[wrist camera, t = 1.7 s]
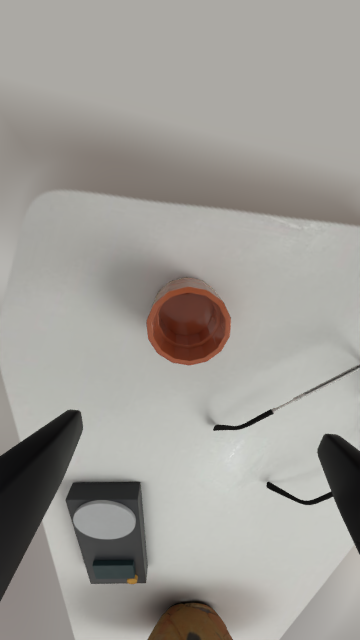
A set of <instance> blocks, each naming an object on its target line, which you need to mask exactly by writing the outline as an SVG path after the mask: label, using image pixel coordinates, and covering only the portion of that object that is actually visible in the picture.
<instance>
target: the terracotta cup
mask: <svg viewBox="0 0 360 640" xmlns="http://www.w3.org/2000/svg"><path fill="white" fill-rule="evenodd" d="M230 327H231V317H230V315H229V313H228V311H227V309H226V307H225V304H224V302H223V301H222V300H221V298H220V297H219V296H218V294H217V293H216V292H215V291H214V289H213V288H211V287H210V286H209V285H207V284H206V283H205V282H203V281H202V280H198V279H193V278H188V277H184V278H181V279H177V280H173V281H171V282H169V283H168V284H166V285H165V286H164V287H163V288H162V289H161V290H160V291H159V292H158V294H157V296H156V299H155V301H154V303H153V306H152V309H151V311H150V314H149V316H148V319H147V332H148V339H149V341H150V342H151V344H152V346H153V347H154V349H155V350H156V352H157V353H158V354H159V355H161V356H163V357H164V358H166V359H167V360H169V361H171V362H173V363H178V364H184V365H193V364H198V363H202V362H206V361H208V360H209V359H211V358H212V357H214V356H215V355H216V354H218V353H219V352H221V351H222V349H223V347H224V345H225V344H226V342H227V340H228V338H229V337H230Z"/></svg>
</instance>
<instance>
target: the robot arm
mask: <svg viewBox="0 0 360 640" xmlns="http://www.w3.org/2000/svg"><path fill="white" fill-rule="evenodd" d="M82 430H83V423H82V416H81V412H80V411H79V410H67V411H66V412H64V413H63V414H61V415H60V416H58V417H57V418H56V419H54V420H53V421H51V422H50V423H48V424H47V425H45V426H44V427H42V428H41V429H39V430H38V431H36V432H35V433H33V434H32V435H31V436H29V437H28V438H26V439H25V440H23V441H22V442H20V443H19V444H17V445H16V446H14V447H13V448H12V449H10V450H9V451H7V452H6V453H4V454H3V455H1V456H0V601H1V599H2V597H3V595H4V593H5V591H6V589H7V587H8V585H9V583H10V581H11V579H12V577H13V576H14V574H15V572H16V570H17V568H18V566H19V564H20V562H21V560H22V558H23V556H24V554H25V552H26V550H27V548H28V546H29V544H30V543H31V540H32V539H33V537H34V535H35V532H36V531H37V529H38V527H39V525H40V523H41V521H42V519H43V517H44V515H45V513H46V511H47V509H48V507H49V506H50V504H51V502H52V500H53V498H54V496H55V494H56V492H57V490H58V488H59V486H60V484H61V482H62V480H63V478H64V475H65V473H66V471H67V468H68V466H69V463H70V461H71V458H72V456H73V454H74V451H75V449H76V446H77V444H78V441H79V439H80V436H81V434H82ZM318 457H319V460H320V462H321V465H322V468H323V470H324V473H325V476H326V478H327V481H328V484H329V486H330V489H331V491H332V494H333V497H334V499H335V502H336V504H337V507H338V509H339V511H340V514H341V516H342V518H343V520H344V522H345V524H346V526H347V529H348V531H349V533H350V535H351V537H352V539H353V541H354V544H355V546H356V548H357V550H358V552H359V554H360V451H359V450H358V449H356V448H355V447H354V446H352V445H351V444H350V443H348V442H347V441H346V440H344V439H343V438H342V437H340V436H339V435H335V434H325V435H324V436H323V438H322V440H321V442H320V445H319V447H318Z"/></svg>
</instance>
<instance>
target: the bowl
mask: <svg viewBox="0 0 360 640" xmlns="http://www.w3.org/2000/svg"><path fill="white" fill-rule="evenodd" d="M148 640H233V639H232V637H231V636H230V634H229V632H228V630H227V627H226V626H225V624H224V622H223V621H222V619H221V618H220V617H219V616H218V614H217V613H216V612H215V611H214V610H213V609H212V608H211V607H209V606H207V605H204V604H200V603H186V604H182V603H181V604H177V605H174V606H172V607H170V608H169V609H168V610H167V611H166V613H165V614H163V615H162V616H161V618H160V619H159V621H158V623H157V624H156V626H155V627H154V629H153V631H152V633H151V634H150V636H149V638H148Z"/></svg>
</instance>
